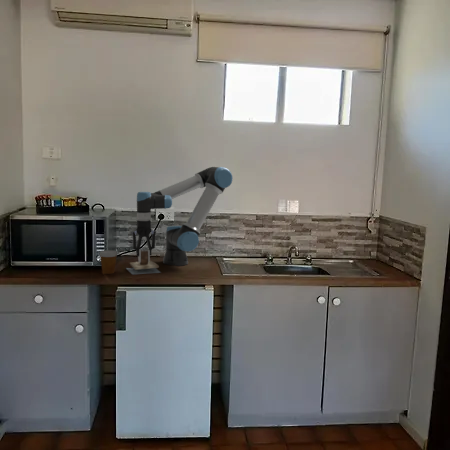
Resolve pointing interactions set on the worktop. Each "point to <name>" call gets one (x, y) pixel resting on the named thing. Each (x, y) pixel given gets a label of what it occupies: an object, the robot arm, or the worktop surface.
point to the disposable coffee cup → (108, 261)
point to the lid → (144, 262)
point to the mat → (143, 271)
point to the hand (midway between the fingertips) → (144, 261)
